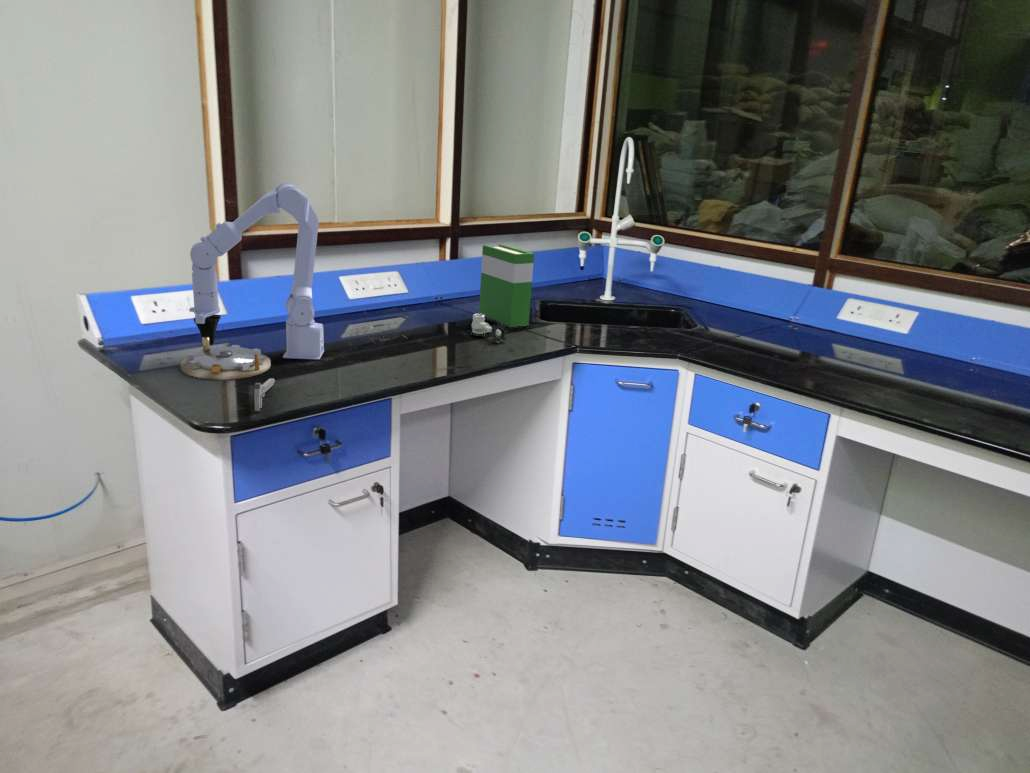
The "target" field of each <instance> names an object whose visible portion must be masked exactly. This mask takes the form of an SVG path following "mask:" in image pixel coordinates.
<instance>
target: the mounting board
mask: <svg viewBox="0 0 1030 773" xmlns="http://www.w3.org/2000/svg"><path fill="white" fill-rule="evenodd" d="M261 356H264V357H265V362H264V363H263V364H259V354H254V357H255V365H253V366H251V367H250V370H246V371H242V370H240V369H238V370H228V371H221V372H220V373H212V370H207V369H203V368H196V369H192V368H190V367H189V361H187V357H186V358H184V359H183V360H182V361H181V362H180V370H181V372H182V373H183V374H185V375H187V376H189V377H192V376H193V377H192V378H196V377H197V379H201V378H202V379H203V380H212V381H218V380H219V381H225V380H226V381H228V380H238V379H239V380H240V379H247V378H250V377H254V376H258V375H261V374H263V373H265V372H267V371H268V370H270V368H271V366H272V364H271V362H272V361H271V358H269V357H268V356H267V355H265V354H263V353H261ZM202 379H201V380H202Z"/></svg>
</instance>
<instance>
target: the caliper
mask: <svg viewBox="0 0 1030 773" xmlns="http://www.w3.org/2000/svg"><path fill="white" fill-rule="evenodd" d="M275 382H276V380H275V378H268V379H267V380H266V381H265V382H263V384H262V383H261V382H255V383H254V390H253V391H254V395H253V396H254V397H253V398H254V412H259V411H260V412H261V410H260V408H262V407H263V405H262V404H263V398H265V396H266V392H267V391H269V390H270V389H271V387H273V386H274V384H275Z"/></svg>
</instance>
